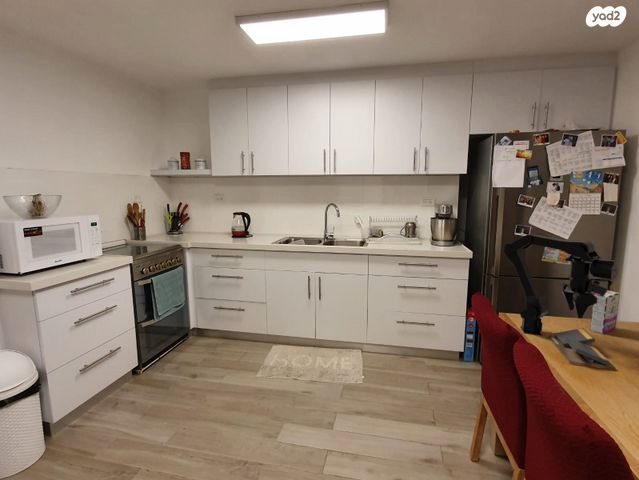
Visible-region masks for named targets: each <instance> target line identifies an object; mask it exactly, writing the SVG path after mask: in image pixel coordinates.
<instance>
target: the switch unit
mask: <svg viewBox="0 0 639 480" xmlns="http://www.w3.org/2000/svg"><path fill="white" fill-rule="evenodd" d="M548 338H549V339H550V341H551V342H552V343H553V345H554V346H555V348H557V350H558V351H559V353H560V354H561V355H562V356H563V358H564V359H565V360H566V362H567V363H568V364H570V365H577V366H584V367H589V368H590V367H592V368H598V369H603V370H604V369H606V370H610V371H611V370H612V371H615V370H616V366H615V365H614V364H613V363H612V362H611V361H610V360H609V359H608V358H606V356H605V355H604V354H602V355H603V356H604V357H605V358H606V359H607V360H608V361H609V364H608V365H606V364H603V363H601V362H598V361H596V360H594V359H591V358H589V357H586V356H584V355H582V354H579V353H577V352H575V351H574V350H573V349H572V347H571V346H569V347H564V346H563V345H562V344H561V342H560V341H559V340H558V339H557V338H556V336H555V335H551V334H549V335H548ZM586 345H588V346H591V347H593V348H596V347H595V346H594V344H592V343H587V344H586Z"/></svg>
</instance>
